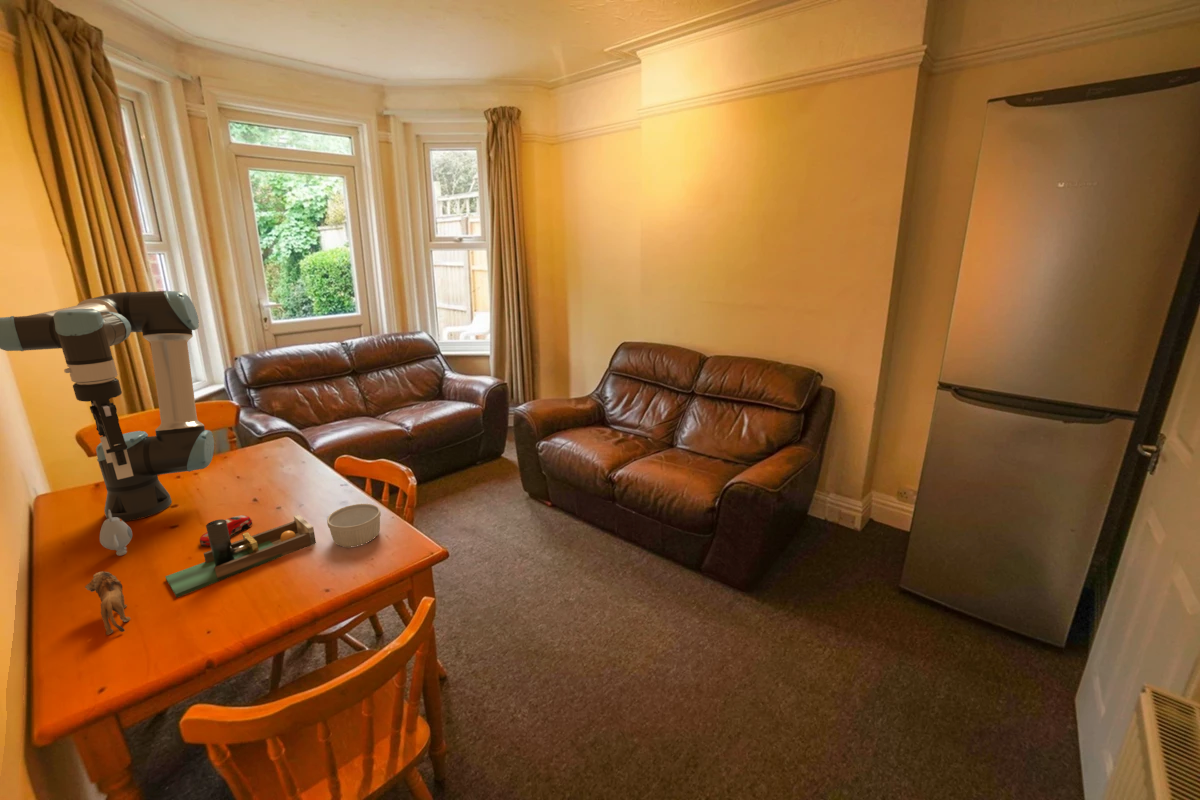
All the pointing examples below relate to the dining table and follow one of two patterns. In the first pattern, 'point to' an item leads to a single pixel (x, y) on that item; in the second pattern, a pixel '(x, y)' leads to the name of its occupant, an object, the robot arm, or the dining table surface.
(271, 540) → the lane
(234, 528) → the race car
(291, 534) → the ball
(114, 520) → the toy figure
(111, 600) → the lion figurine
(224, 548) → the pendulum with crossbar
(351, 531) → the ramekin
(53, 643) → the dining table surface
